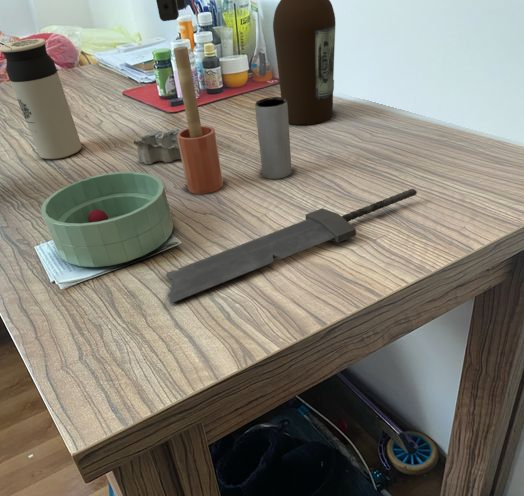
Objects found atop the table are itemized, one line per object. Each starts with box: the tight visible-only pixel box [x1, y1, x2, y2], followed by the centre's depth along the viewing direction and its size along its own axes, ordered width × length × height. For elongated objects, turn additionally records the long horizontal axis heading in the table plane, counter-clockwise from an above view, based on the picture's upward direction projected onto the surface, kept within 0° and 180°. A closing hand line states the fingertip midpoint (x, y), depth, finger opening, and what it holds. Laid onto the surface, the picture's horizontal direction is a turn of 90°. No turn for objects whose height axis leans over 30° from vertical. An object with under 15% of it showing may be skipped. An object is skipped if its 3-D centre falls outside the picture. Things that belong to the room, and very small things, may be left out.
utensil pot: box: [177, 125, 224, 195], centre depth 75 cm, size 5×5×8 cm
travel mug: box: [0, 38, 83, 160], centre depth 91 cm, size 8×8×18 cm
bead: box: [88, 210, 108, 223], centre depth 68 cm, size 3×3×3 cm
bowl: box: [40, 171, 174, 268], centre depth 66 cm, size 15×15×6 cm
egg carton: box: [133, 127, 186, 165], centre depth 88 cm, size 11×8×4 cm
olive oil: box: [272, 0, 337, 126], centre depth 89 cm, size 11×11×25 cm
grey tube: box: [254, 96, 293, 180], centre depth 75 cm, size 4×4×10 cm
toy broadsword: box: [165, 188, 418, 304], centre depth 61 cm, size 7×35×2 cm, turn 118°
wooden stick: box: [173, 46, 203, 138], centre depth 71 cm, size 2×3×18 cm, turn 1°
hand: (174, 14), depth 63 cm, fingers open, 8 cm apart
